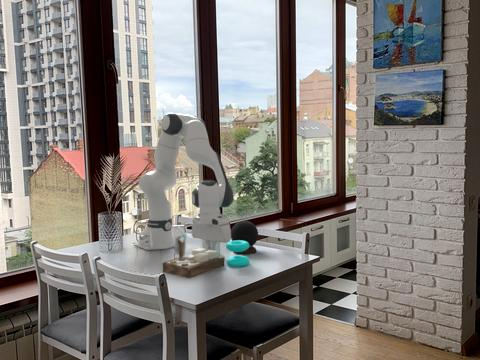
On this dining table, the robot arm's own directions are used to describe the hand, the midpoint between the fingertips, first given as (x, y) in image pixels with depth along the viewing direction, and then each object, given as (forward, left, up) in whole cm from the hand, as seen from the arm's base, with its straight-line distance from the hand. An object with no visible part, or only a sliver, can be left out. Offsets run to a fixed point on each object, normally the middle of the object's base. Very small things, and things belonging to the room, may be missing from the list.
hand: (211, 250), depth 216 cm
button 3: (-7, 0, -5) cm, 9 cm away
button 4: (0, 0, -5) cm, 5 cm away
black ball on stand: (-4, +27, -7) cm, 29 cm away
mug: (-11, +12, -7) cm, 18 cm away
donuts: (+8, +8, -7) cm, 14 cm away
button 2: (0, -6, -5) cm, 8 cm away
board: (-4, -7, -7) cm, 11 cm away
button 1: (-7, -6, -6) cm, 11 cm away
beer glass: (-21, +1, -7) cm, 22 cm away
